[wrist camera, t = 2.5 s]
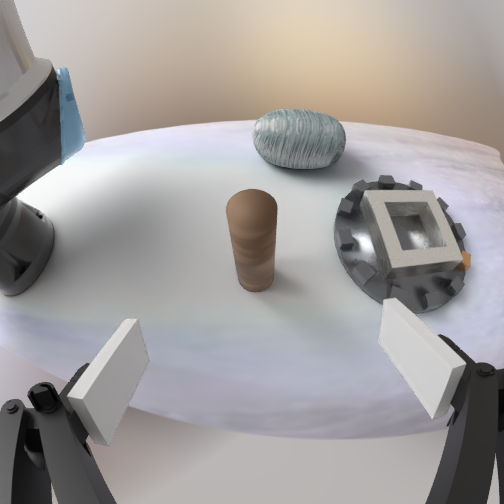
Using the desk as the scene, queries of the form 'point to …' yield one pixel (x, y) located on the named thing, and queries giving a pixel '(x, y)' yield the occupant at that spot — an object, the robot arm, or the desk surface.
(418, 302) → the sprocket plate
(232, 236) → the drive pin
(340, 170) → the desk surface
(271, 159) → the grey green streaked ellipsoid
